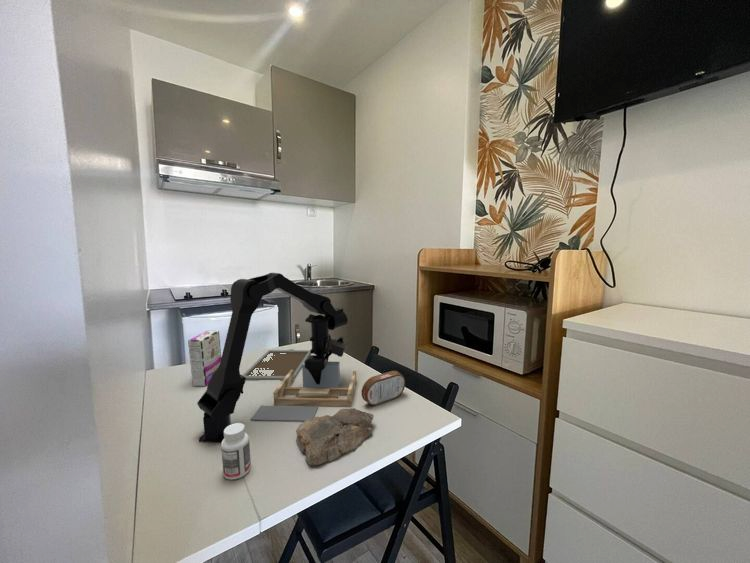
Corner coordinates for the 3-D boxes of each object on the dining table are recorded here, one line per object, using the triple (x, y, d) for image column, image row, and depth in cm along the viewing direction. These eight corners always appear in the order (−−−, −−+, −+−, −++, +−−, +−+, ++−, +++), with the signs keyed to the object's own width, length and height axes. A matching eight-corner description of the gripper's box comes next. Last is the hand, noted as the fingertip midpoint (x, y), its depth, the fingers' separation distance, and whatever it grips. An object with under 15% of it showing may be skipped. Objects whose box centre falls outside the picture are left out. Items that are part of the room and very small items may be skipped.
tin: (400, 391, 98) (400, 367, 97) (406, 395, 95) (407, 370, 94) (360, 405, 90) (360, 378, 89) (366, 410, 87) (366, 382, 86)
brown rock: (359, 412, 87) (290, 435, 76) (359, 396, 86) (290, 417, 75) (387, 440, 75) (310, 472, 64) (388, 422, 74) (310, 451, 63)
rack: (350, 406, 89) (350, 393, 88) (274, 405, 90) (273, 392, 89) (356, 381, 105) (356, 370, 104) (291, 380, 106) (290, 369, 105)
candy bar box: (210, 372, 113) (206, 330, 111) (223, 372, 113) (220, 330, 111) (191, 386, 102) (187, 340, 100) (205, 387, 102) (202, 340, 99)
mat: (311, 422, 81) (311, 420, 81) (250, 420, 82) (250, 419, 82) (317, 407, 88) (317, 406, 88) (261, 406, 89) (261, 405, 89)
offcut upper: (327, 399, 91) (327, 393, 91) (298, 398, 91) (298, 392, 91) (329, 394, 93) (329, 389, 93) (301, 393, 94) (300, 388, 94)
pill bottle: (242, 458, 68) (239, 417, 67) (256, 468, 65) (253, 426, 63) (218, 473, 64) (214, 430, 62) (231, 485, 60) (228, 440, 59)
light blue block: (338, 388, 101) (338, 365, 100) (303, 387, 101) (302, 364, 100) (339, 383, 104) (339, 361, 103) (305, 383, 104) (304, 361, 103)
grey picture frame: (239, 377, 106) (270, 347, 136) (240, 381, 106) (271, 351, 136) (293, 377, 106) (313, 348, 136) (293, 382, 106) (313, 351, 136)
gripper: (339, 342, 90) (340, 391, 92) (347, 325, 109) (348, 366, 111) (303, 342, 91) (304, 391, 93) (317, 325, 109) (318, 366, 111)
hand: (321, 377), depth 102 cm, fingers open, 9 cm apart
